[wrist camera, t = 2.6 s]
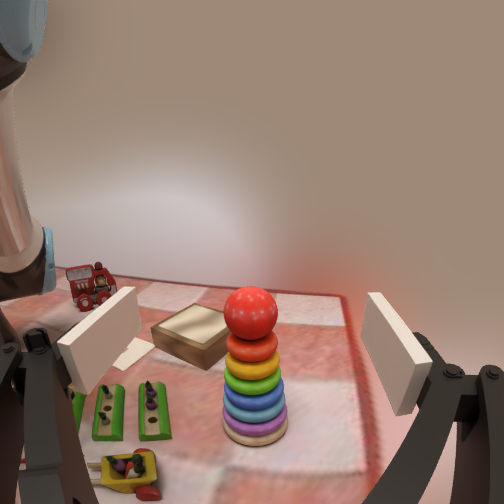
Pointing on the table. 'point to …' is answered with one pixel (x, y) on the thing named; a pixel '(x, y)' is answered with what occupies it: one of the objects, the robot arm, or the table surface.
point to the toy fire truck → (90, 285)
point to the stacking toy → (253, 370)
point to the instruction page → (133, 354)
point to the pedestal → (193, 335)
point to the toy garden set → (111, 429)
